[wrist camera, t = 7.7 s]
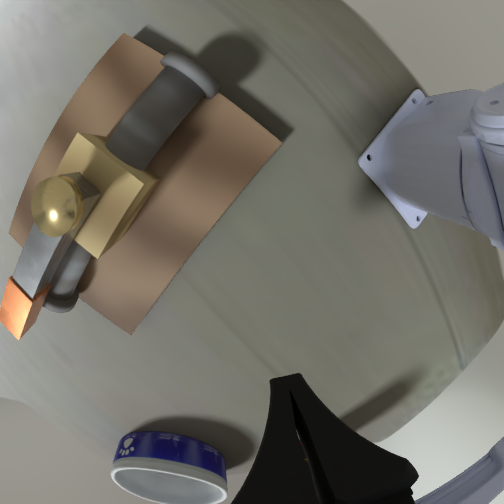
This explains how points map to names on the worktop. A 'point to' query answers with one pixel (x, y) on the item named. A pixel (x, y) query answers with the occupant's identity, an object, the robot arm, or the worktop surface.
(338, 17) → the worktop surface
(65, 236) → the valve lever
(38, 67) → the worktop surface
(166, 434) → the dog bowl
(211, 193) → the valve board
